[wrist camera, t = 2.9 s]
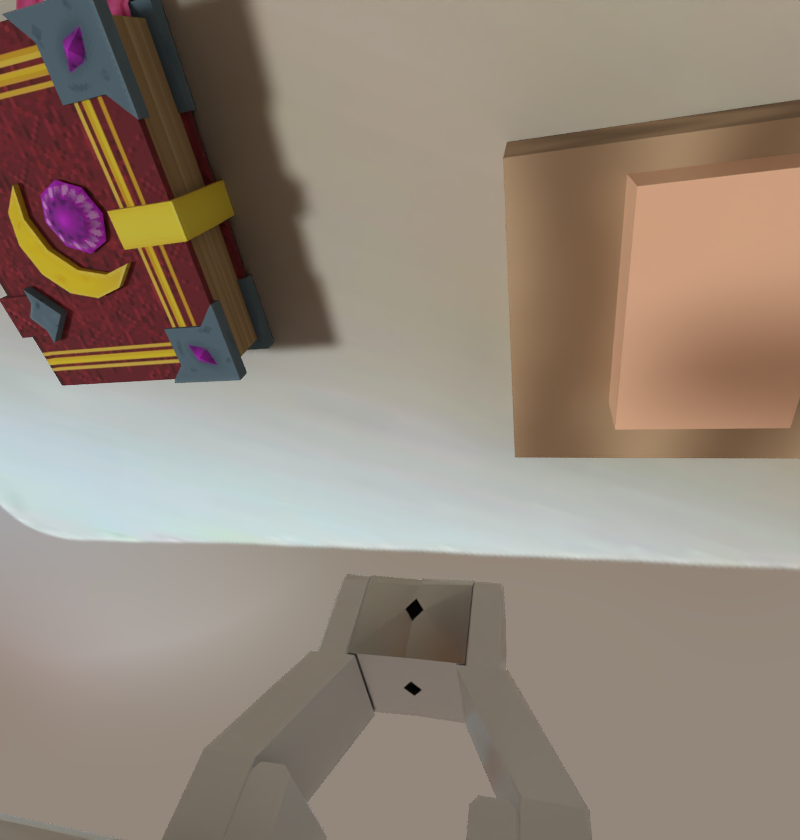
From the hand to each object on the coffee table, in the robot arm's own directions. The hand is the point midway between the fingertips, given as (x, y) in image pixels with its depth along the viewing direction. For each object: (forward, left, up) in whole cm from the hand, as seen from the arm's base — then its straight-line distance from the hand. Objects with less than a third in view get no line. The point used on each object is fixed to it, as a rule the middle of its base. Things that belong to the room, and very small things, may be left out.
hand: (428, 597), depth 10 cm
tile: (-8, 0, -14) cm, 16 cm away
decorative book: (+17, -5, -18) cm, 26 cm away
